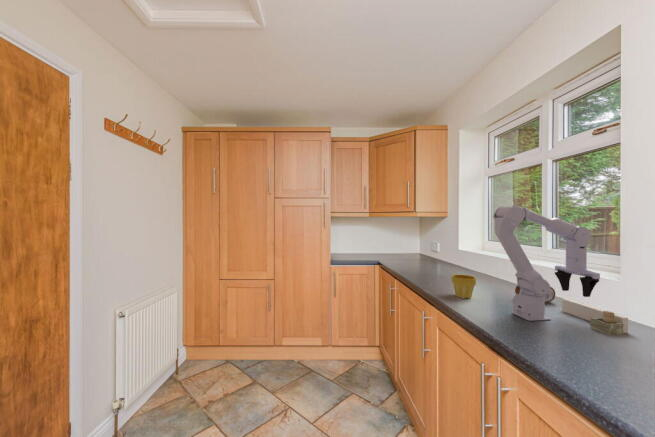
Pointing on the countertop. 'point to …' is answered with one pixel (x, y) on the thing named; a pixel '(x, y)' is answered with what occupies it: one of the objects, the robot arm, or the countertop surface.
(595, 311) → the backstop wall
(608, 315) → the dowel
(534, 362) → the countertop surface
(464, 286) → the plant pot
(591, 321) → the socket block
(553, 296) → the tin
